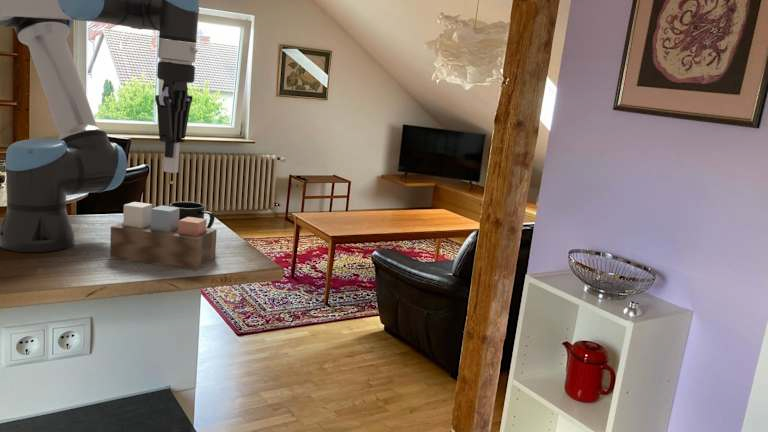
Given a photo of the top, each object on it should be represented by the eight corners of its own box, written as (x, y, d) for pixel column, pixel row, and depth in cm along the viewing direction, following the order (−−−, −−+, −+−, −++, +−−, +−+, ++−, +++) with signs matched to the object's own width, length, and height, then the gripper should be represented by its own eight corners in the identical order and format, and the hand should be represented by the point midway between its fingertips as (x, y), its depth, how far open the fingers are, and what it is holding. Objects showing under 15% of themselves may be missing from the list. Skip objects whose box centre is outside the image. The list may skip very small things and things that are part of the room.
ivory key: (123, 235, 141) (123, 205, 139) (133, 231, 145) (134, 201, 144) (141, 238, 140) (142, 207, 139) (151, 234, 145) (152, 204, 143)
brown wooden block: (110, 257, 139) (110, 226, 138) (134, 246, 149) (135, 217, 148) (196, 270, 137) (197, 239, 135) (215, 258, 146) (216, 229, 145)
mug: (199, 252, 150) (201, 212, 148) (160, 242, 155) (162, 204, 153) (221, 245, 158) (223, 208, 156) (184, 236, 162) (185, 200, 160)
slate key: (150, 239, 140) (151, 208, 139) (160, 235, 144) (161, 205, 143) (169, 242, 140) (170, 211, 138) (178, 237, 144) (179, 207, 142)
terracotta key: (177, 251, 140) (179, 220, 138) (186, 246, 144) (188, 216, 142) (196, 254, 139) (198, 223, 138) (205, 249, 143) (206, 219, 142)
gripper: (179, 63, 127) (173, 178, 132) (206, 65, 140) (199, 170, 145) (144, 58, 128) (139, 173, 133) (174, 61, 141) (168, 165, 146)
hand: (170, 171), depth 139 cm, fingers closed
